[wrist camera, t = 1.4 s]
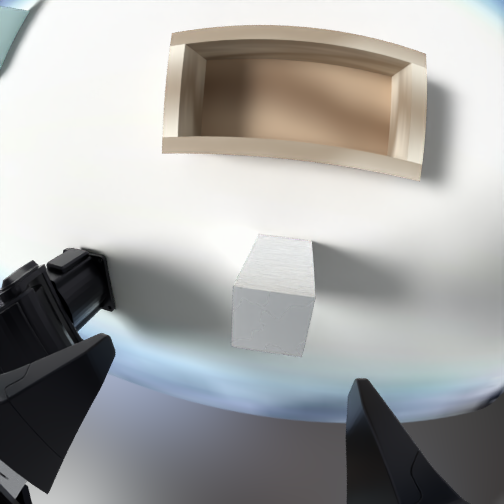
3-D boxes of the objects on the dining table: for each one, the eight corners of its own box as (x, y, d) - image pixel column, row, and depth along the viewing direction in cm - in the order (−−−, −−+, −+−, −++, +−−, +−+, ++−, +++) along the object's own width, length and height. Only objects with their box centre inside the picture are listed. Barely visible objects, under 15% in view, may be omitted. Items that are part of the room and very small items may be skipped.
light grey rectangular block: (304, 287, 21) (301, 356, 14) (255, 280, 22) (231, 346, 15) (311, 240, 20) (315, 297, 13) (258, 234, 20) (233, 286, 13)
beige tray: (395, 172, 17) (419, 181, 13) (190, 150, 19) (162, 153, 15) (401, 70, 14) (425, 53, 10) (197, 52, 16) (171, 33, 12)
